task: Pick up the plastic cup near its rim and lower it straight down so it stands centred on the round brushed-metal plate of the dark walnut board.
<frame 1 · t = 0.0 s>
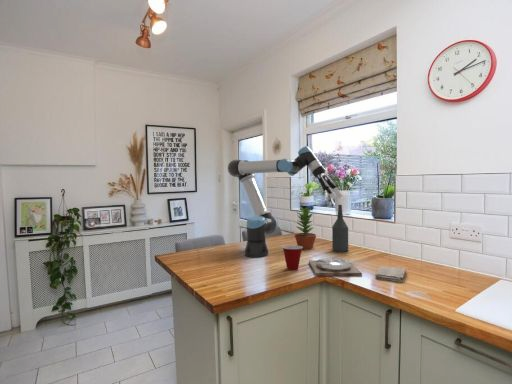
hand: (337, 197, 167), 36 cm above the worktop, tool tilted 35°, fingers open, 13 cm apart
washcloth: (390, 276, 138), on the worktop
mount board: (333, 269, 149), on the worktop
bottle: (340, 250, 190), on the worktop
plastic cup: (292, 269, 151), on the worktop
potted plant: (305, 247, 199), on the worktop
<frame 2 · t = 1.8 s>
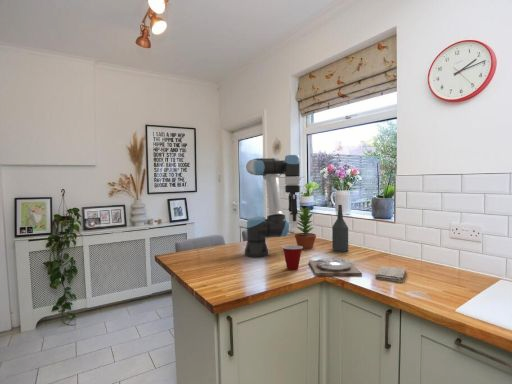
hand: (292, 225, 150), 23 cm above the worktop, tool pointing down, fingers open, 13 cm apart
nothing on the worktop moved.
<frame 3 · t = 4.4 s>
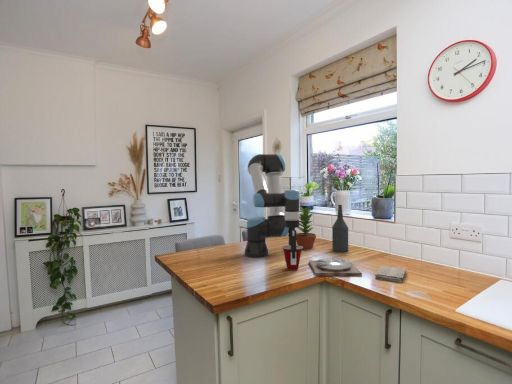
hand: (292, 261, 151), 4 cm above the worktop, tool pointing down, fingers closed on plastic cup, 10 cm apart
plastic cup: (292, 269, 151), on the worktop, touching gripper
everything else where it was.
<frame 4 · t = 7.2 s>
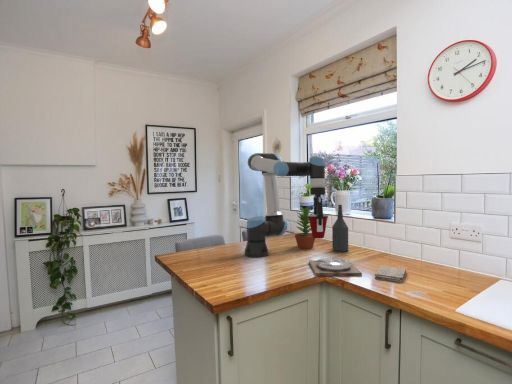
hand: (318, 230, 148), 21 cm above the worktop, tool pointing down, fingers closed on plastic cup, 10 cm apart
plastic cup: (318, 237, 149), point 17 cm above the worktop, touching gripper
everything else where it was.
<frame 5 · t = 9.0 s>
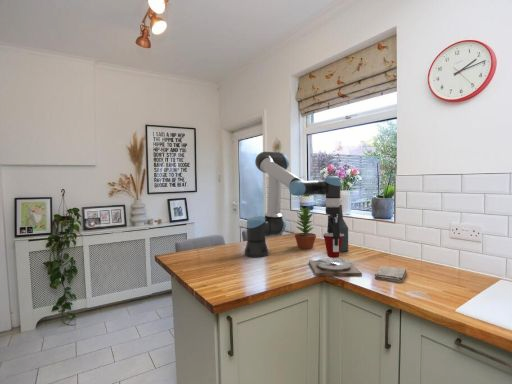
hand: (333, 249, 149), 10 cm above the worktop, tool pointing down, fingers closed on plastic cup, 10 cm apart
plastic cup: (333, 256, 149), point 6 cm above the worktop, touching gripper
everything else where it was.
when the fingers open (9 cm above the worktop, at t = 10.3 s): plastic cup drops 1 cm, resting on mount board.
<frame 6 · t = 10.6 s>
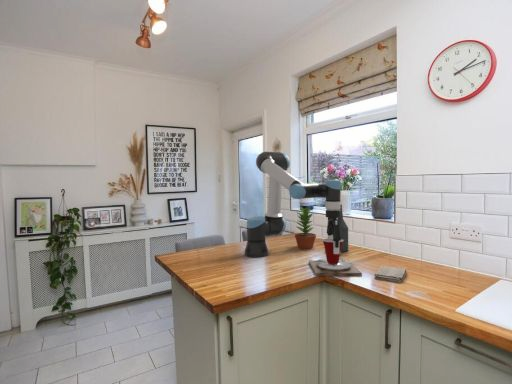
hand: (333, 250, 149), 10 cm above the worktop, tool pointing down, fingers open, 13 cm apart
plastic cup: (332, 262, 150), point 3 cm above the worktop, touching mount board
everything else where it was.
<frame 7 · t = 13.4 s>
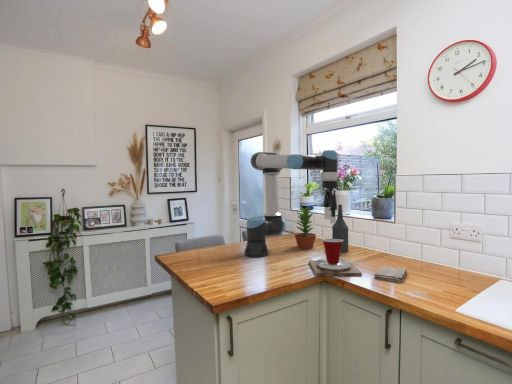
hand: (329, 221, 150), 25 cm above the worktop, tool pointing down, fingers open, 13 cm apart
nothing on the worktop moved.
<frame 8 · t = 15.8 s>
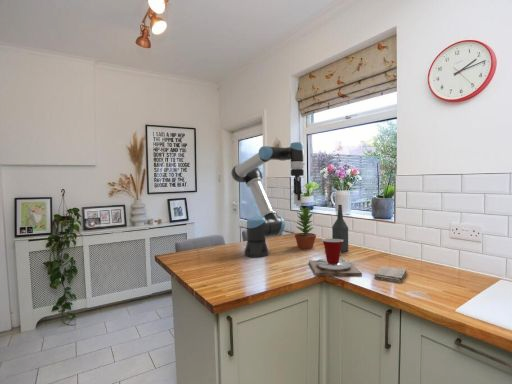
hand: (297, 205, 170), 32 cm above the worktop, tool pointing down, fingers open, 13 cm apart
nothing on the worktop moved.
at the end: plastic cup 0.8 cm off-centre on the mount board, point 3.3 cm above the mount board's base; plastic cup tilted 0°; the gripper is holding nothing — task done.
